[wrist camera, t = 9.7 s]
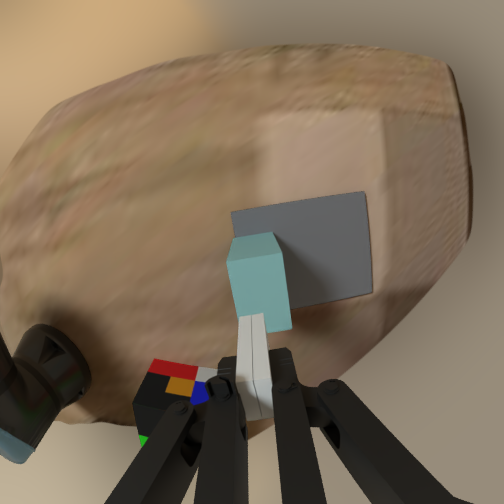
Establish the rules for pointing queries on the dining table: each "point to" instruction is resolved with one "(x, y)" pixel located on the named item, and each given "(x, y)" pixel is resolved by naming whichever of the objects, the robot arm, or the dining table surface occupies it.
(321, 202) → the rubber mat
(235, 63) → the dining table surface
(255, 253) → the teal block
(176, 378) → the puzzle toy
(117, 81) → the dining table surface
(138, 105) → the dining table surface
